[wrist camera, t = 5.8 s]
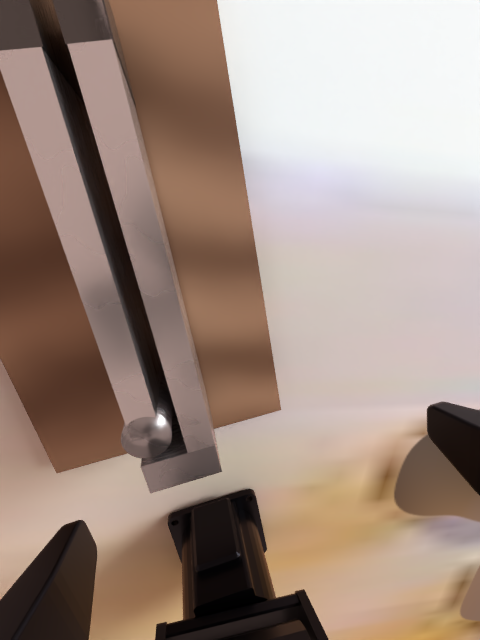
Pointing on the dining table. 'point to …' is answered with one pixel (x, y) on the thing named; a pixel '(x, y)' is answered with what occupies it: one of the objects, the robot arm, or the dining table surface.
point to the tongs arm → (85, 216)
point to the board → (182, 231)
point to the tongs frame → (142, 236)
